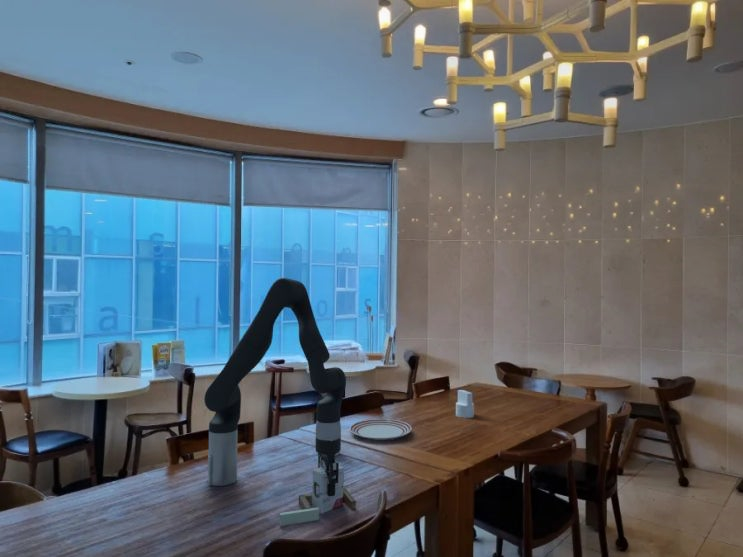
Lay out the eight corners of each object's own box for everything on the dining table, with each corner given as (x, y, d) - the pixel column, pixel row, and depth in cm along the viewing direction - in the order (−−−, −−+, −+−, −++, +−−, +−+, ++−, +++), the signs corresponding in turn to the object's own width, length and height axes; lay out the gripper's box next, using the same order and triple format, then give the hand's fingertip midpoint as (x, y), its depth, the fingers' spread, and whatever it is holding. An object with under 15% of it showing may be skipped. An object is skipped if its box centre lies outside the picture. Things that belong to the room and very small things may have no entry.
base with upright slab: (452, 414, 263) (452, 390, 263) (466, 412, 266) (467, 389, 266) (462, 418, 254) (462, 394, 254) (477, 416, 258) (477, 392, 258)
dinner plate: (387, 448, 209) (387, 440, 209) (336, 435, 225) (336, 428, 225) (423, 433, 230) (423, 425, 230) (374, 422, 247) (374, 415, 247)
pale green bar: (280, 526, 142) (280, 515, 142) (279, 524, 143) (279, 513, 143) (319, 519, 146) (319, 509, 146) (317, 517, 147) (318, 507, 147)
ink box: (333, 500, 159) (334, 462, 158) (344, 506, 155) (345, 467, 155) (310, 508, 153) (311, 468, 152) (320, 514, 149) (322, 474, 149)
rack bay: (306, 516, 147) (306, 488, 147) (296, 500, 159) (297, 474, 159) (355, 509, 153) (356, 482, 153) (343, 493, 164) (343, 468, 164)
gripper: (310, 429, 159) (309, 483, 159) (322, 443, 146) (321, 502, 146) (333, 427, 162) (332, 480, 162) (347, 441, 148) (347, 498, 148)
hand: (327, 490), depth 154 cm, fingers open, 7 cm apart
